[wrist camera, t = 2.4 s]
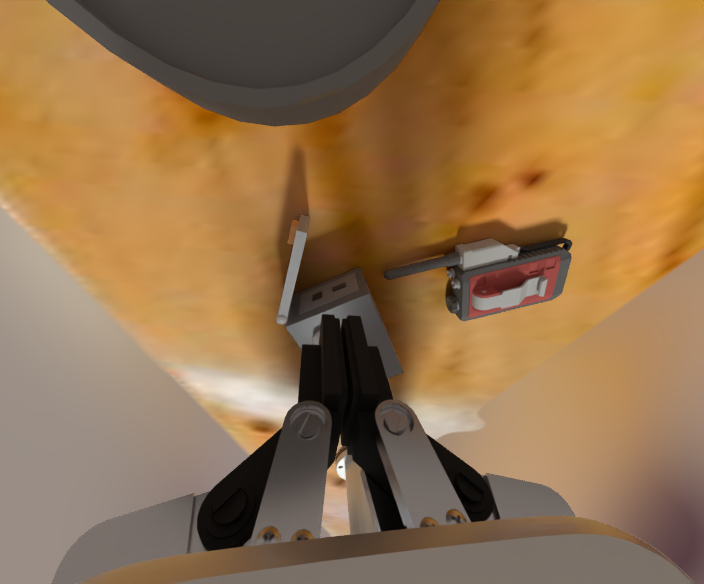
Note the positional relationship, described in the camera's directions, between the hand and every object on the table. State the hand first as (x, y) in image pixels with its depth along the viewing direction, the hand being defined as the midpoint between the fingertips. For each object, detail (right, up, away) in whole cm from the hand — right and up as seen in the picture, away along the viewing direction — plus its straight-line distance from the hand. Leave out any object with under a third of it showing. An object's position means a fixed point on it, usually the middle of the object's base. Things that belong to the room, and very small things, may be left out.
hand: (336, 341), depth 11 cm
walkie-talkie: (+14, +4, +18) cm, 23 cm away
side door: (-5, +6, +14) cm, 16 cm away
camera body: (0, -1, +18) cm, 18 cm away
